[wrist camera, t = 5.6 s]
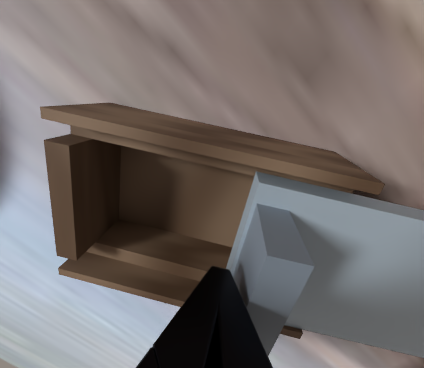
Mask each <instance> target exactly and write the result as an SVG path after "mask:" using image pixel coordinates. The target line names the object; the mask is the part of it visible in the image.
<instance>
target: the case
mask: <svg viewBox="0 0 424 368" xmlns="http://www.w3.org/2000/svg"><path fill="white" fill-rule="evenodd" d="M40 110H41V118H42V119H47V120H51V121H55V122H60V123H64V124H69V125H70V126H71V134H69V135H64V136H60V137H55V138H51V139H46V140H44V146H45V155H46V163H47V172H48V181H49V190H50V199H51V208H52V217H53V226H54V234H55V243H56V252H57V256H60V257H64V258H68V260H67V261H66V262H64V263H63V264H62V265H61V266H60V267H59V268H58V270H59V274H60V275H64V276H67V277H71V278H75V279H78V280H82V281H86V282H90V283H93V284H97V285H101V286H104V287H108V288H112V289H116V290H119V291H123V292H127V293H131V294H134V295H138V296H142V297H145V298H149V299H153V300H157V301H160V302H164V303H168V304H171V305H175V306H179V307H181V306H182V305H183V304H184V302H185V301H186V300H187V298H188V297H189V296H190V294H191V293H192V291H193V290H194V289H195V287H196V286H197V285H198V283H199V282H200V281H201V279H202V278H203V277H204V275H205V274H206V272H207V271H208V270H209V268H210V267H211V266H217V267H221V268H226V267H227V263H228V260H229V257H230V254H231V250H232V247H233V244H234V241H235V238H236V234H237V231H238V228H239V225H240V221H241V218H242V215H243V212H244V209H245V205H246V202H247V199H248V196H249V193H250V189H251V186H252V183H253V180H254V176H255V173H256V171H257V172H261V173H265V174H270V175H274V176H278V177H283V178H287V179H291V180H296V181H300V182H304V183H308V184H313V185H317V186H321V187H326V188H330V189H334V190H339V191H343V192H347V193H351V194H352V193H353V191H354V190H359V191H363V192H368V193H372V194H376V195H379V194H380V192H381V191H382V189H383V187H384V185H385V184H384V183H382V182H381V181H379V180H378V179H376V178H375V177H373V176H371V175H370V174H368V173H367V172H365V171H364V170H362V169H361V168H359V167H357V166H356V165H354V164H353V163H351V162H350V161H348V160H347V159H345V158H343V157H342V156H340V155H339V154H337V153H336V152H333V151H328V150H324V149H319V148H315V147H310V146H306V145H301V144H296V143H292V142H287V141H283V140H278V139H274V138H269V137H264V136H260V135H255V134H251V133H246V132H242V131H237V130H232V129H228V128H223V127H219V126H214V125H210V124H205V123H201V122H196V121H191V120H187V119H182V118H178V117H173V116H169V115H164V114H159V113H155V112H150V111H146V110H141V109H137V108H132V107H128V106H123V105H118V104H114V103H97V104H80V105H62V106H45V107H40ZM280 334H283V335H287V336H291V337H294V338H298V339H300V338H301V336H302V334H303V332H302V329H299V328H294V327H290V326H286V325H284V326H283V328H282V330H281V332H280Z"/></svg>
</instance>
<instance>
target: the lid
mask: <svg viewBox="0 0 424 368" xmlns="http://www.w3.org/2000/svg"><path fill="white" fill-rule="evenodd" d="M226 269H229V270H230V271H231V274H232V276H233V278H234V281H235V283H236V285H237V287H238V290H239V292H240V294H241V296H242V299H243V301H244V303H245V306H246V308H247V310H248V312H249V315H250V317H251V319H252V322H253V324H254V326H255V328H256V331H257V333H258V335H259V337H260V340H261V342H262V344H263V347H264V349H265V351H266V353H267V356H268V355H269V353H270V351H271V350H272V348H273V346H274V344H275V342H276V340H277V338H278V336H279V334H280V332H281V330H282V328H283V326H284V325H286V326H290V327H294V328H299V329H303V330H307V331H311V332H315V333H320V334H324V335H328V336H332V337H337V338H341V339H345V340H349V341H354V342H358V343H362V344H366V345H370V346H375V347H379V348H383V349H387V350H392V351H396V352H400V353H404V354H409V355H413V356H417V357H421V358H424V210H420V209H416V208H412V207H407V206H403V205H399V204H394V203H390V202H386V201H381V200H377V199H373V198H369V197H364V196H360V195H356V194H351V193H347V192H343V191H339V190H334V189H330V188H326V187H321V186H317V185H313V184H308V183H304V182H300V181H296V180H291V179H287V178H283V177H278V176H274V175H270V174H265V173H261V172H257V171H256V173H255V176H254V180H253V183H252V186H251V189H250V193H249V196H248V199H247V202H246V205H245V209H244V212H243V215H242V218H241V221H240V225H239V228H238V231H237V234H236V238H235V241H234V244H233V247H232V250H231V254H230V257H229V260H228V263H227V267H226Z"/></svg>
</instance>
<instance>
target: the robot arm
mask: <svg viewBox="0 0 424 368" xmlns="http://www.w3.org/2000/svg"><path fill="white" fill-rule="evenodd" d="M136 368H273V367H272V365H271V362H270V360H269V358H268V356H267V353H266V351H265V349H264V347H263V344H262V342H261V340H260V337H259V335H258V333H257V331H256V328H255V326H254V324H253V322H252V319H251V317H250V315H249V312H248V310H247V308H246V306H245V303H244V301H243V299H242V296H241V294H240V292H239V290H238V287H237V285H236V283H235V281H234V278H233V276H232V274H231V271H230V270H229V269H226V268H221V267H217V266H211V267H210V268H209V270H208V271H207V272H206V274H205V275H204V277H203V278H202V279H201V281H200V282H199V283H198V285H197V286H196V287H195V289H194V290H193V291H192V293H191V294H190V296H189V297H188V298H187V300H186V301H185V302H184V304H183V305H182V306H181V308H180V309H179V310H178V312H177V313H176V315H175V316H174V317H173V319H172V320H171V321H170V323H169V324H168V325H167V327H166V328H165V329H164V331H163V332H162V333H161V335H160V336H159V338H158V339H157V340H156V342H155V343H154V344H153V347H152V348H150V349H149V351H148V352H147V354H146V355H145V356H144V358H143V359H142V360H141V362H140V363H139V364H138V365H137V367H136Z"/></svg>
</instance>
